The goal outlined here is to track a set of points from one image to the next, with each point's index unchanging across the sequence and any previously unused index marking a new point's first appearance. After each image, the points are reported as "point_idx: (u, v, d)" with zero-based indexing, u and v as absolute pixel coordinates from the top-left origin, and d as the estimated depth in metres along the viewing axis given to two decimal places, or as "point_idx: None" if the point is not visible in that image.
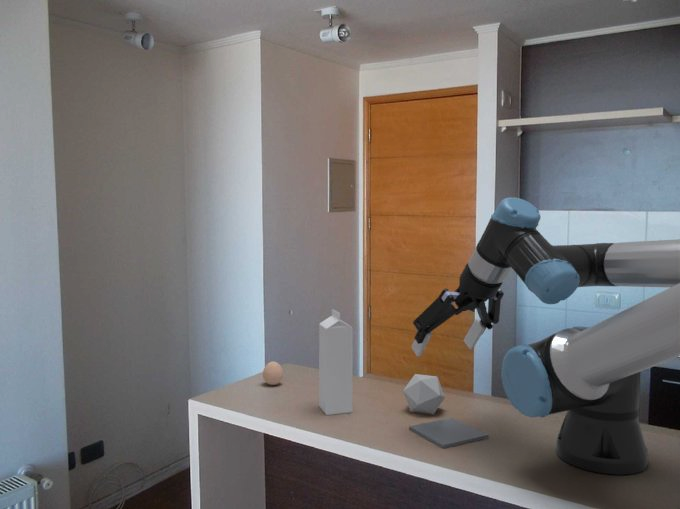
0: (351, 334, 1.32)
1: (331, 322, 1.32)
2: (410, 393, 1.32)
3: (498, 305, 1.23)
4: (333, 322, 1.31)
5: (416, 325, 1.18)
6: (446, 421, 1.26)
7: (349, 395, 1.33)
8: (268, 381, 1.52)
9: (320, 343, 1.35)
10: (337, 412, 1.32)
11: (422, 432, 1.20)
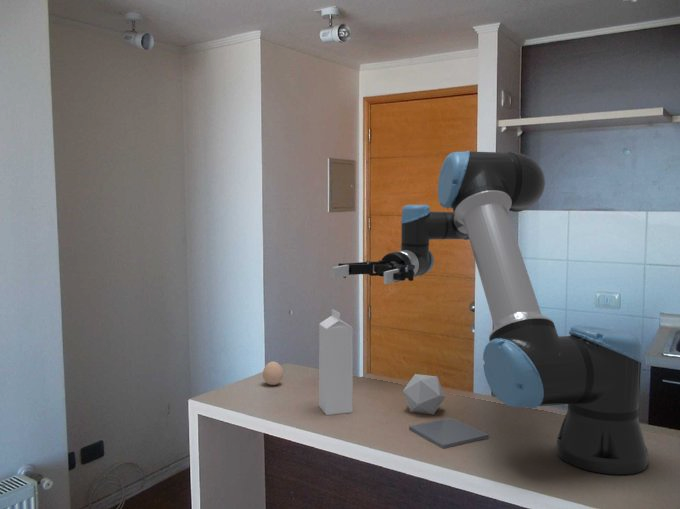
0: (351, 334, 1.32)
1: (331, 322, 1.32)
2: (410, 393, 1.32)
3: (411, 266, 1.48)
4: (333, 322, 1.31)
5: None
6: (446, 421, 1.26)
7: (349, 395, 1.33)
8: (268, 381, 1.52)
9: (320, 343, 1.35)
10: (337, 412, 1.32)
11: (422, 432, 1.20)
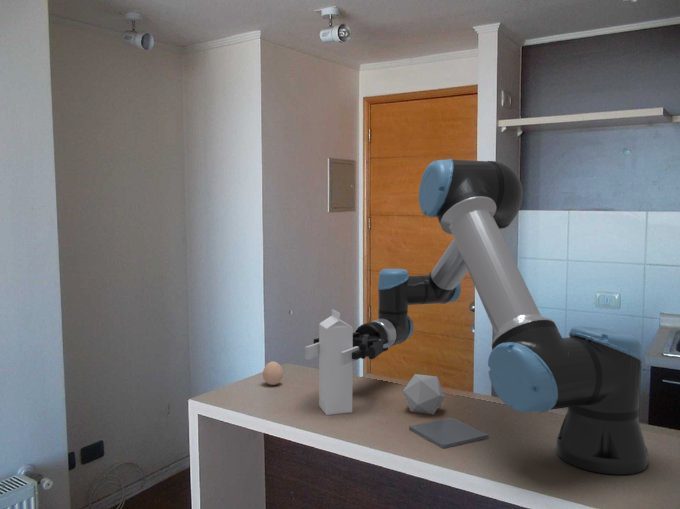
0: (351, 334, 1.32)
1: (331, 322, 1.32)
2: (410, 393, 1.32)
3: (379, 342, 1.38)
4: (333, 322, 1.31)
5: None
6: (446, 421, 1.26)
7: (349, 395, 1.33)
8: (268, 381, 1.52)
9: (320, 343, 1.35)
10: (337, 412, 1.32)
11: (422, 432, 1.20)
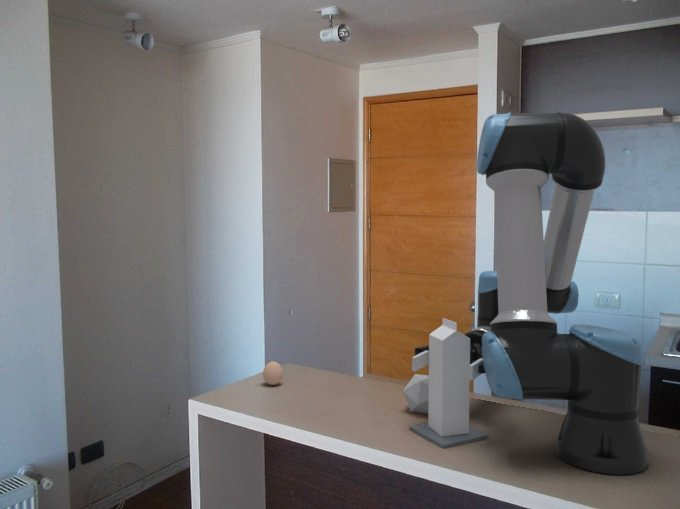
0: (468, 346, 1.18)
1: (446, 333, 1.18)
2: (410, 393, 1.32)
3: None
4: (449, 333, 1.18)
5: None
6: None
7: (465, 414, 1.19)
8: (268, 381, 1.52)
9: (431, 356, 1.21)
10: (453, 433, 1.18)
11: (422, 432, 1.20)
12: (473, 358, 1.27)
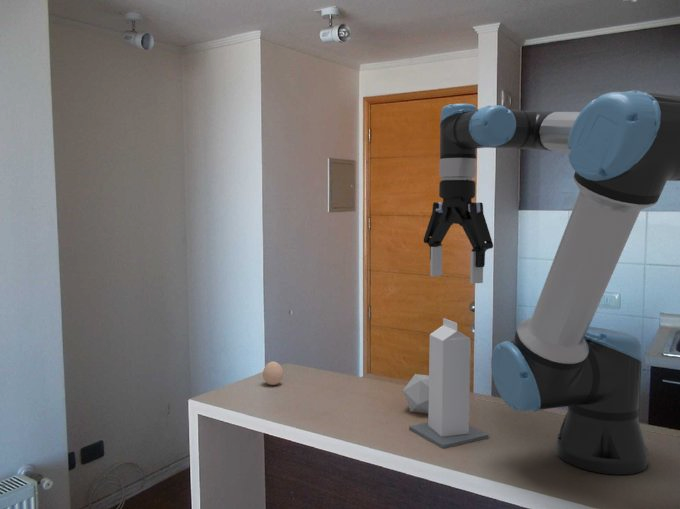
0: (469, 346, 1.18)
1: (447, 333, 1.18)
2: (410, 392, 1.32)
3: (474, 220, 1.23)
4: (449, 333, 1.17)
5: None
6: None
7: (465, 414, 1.19)
8: (268, 381, 1.52)
9: (431, 356, 1.21)
10: (453, 433, 1.18)
11: (422, 432, 1.20)
12: None
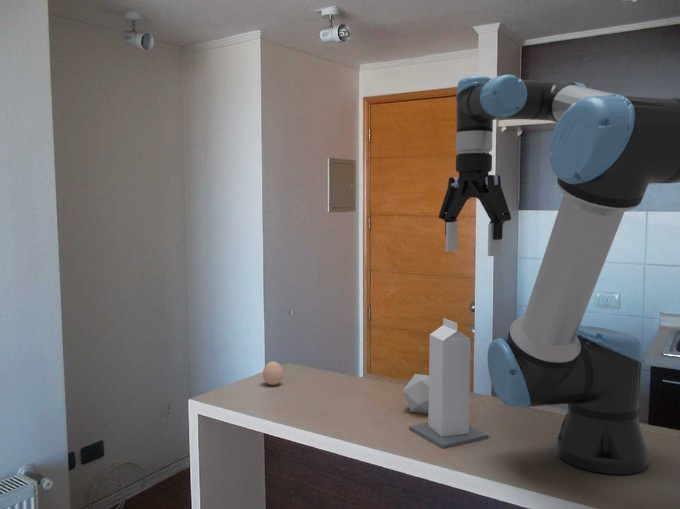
0: (469, 346, 1.18)
1: (447, 333, 1.18)
2: (410, 393, 1.32)
3: (492, 192, 1.23)
4: (449, 333, 1.17)
5: None
6: None
7: (465, 414, 1.19)
8: (268, 381, 1.52)
9: (431, 356, 1.21)
10: (453, 433, 1.18)
11: (422, 432, 1.20)
12: None
